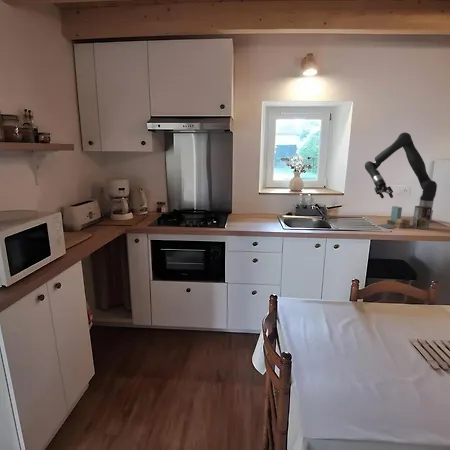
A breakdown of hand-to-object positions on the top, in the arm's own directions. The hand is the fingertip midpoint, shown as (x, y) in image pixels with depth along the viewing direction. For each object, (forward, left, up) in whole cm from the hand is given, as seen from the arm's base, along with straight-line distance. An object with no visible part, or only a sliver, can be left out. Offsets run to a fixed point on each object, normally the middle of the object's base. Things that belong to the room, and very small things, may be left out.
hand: (387, 197), depth 255 cm
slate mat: (+11, +15, -19) cm, 27 cm away
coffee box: (-11, +24, -20) cm, 33 cm away
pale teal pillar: (0, +11, -19) cm, 22 cm away
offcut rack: (0, +13, -19) cm, 24 cm away
